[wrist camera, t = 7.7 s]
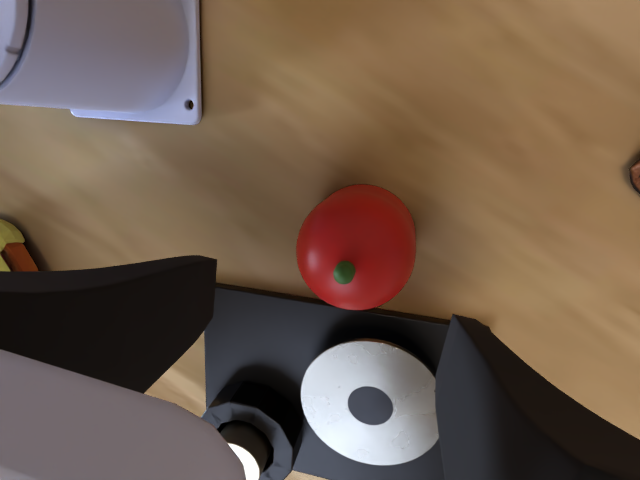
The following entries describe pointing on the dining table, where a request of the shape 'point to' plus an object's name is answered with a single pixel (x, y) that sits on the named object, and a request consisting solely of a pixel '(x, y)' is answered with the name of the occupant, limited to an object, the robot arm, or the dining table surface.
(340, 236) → the pepper
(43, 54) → the robot arm
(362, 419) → the burner
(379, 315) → the hob
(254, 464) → the hob button
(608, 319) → the dining table surface
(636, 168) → the sunglasses case
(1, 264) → the cheeseburger
